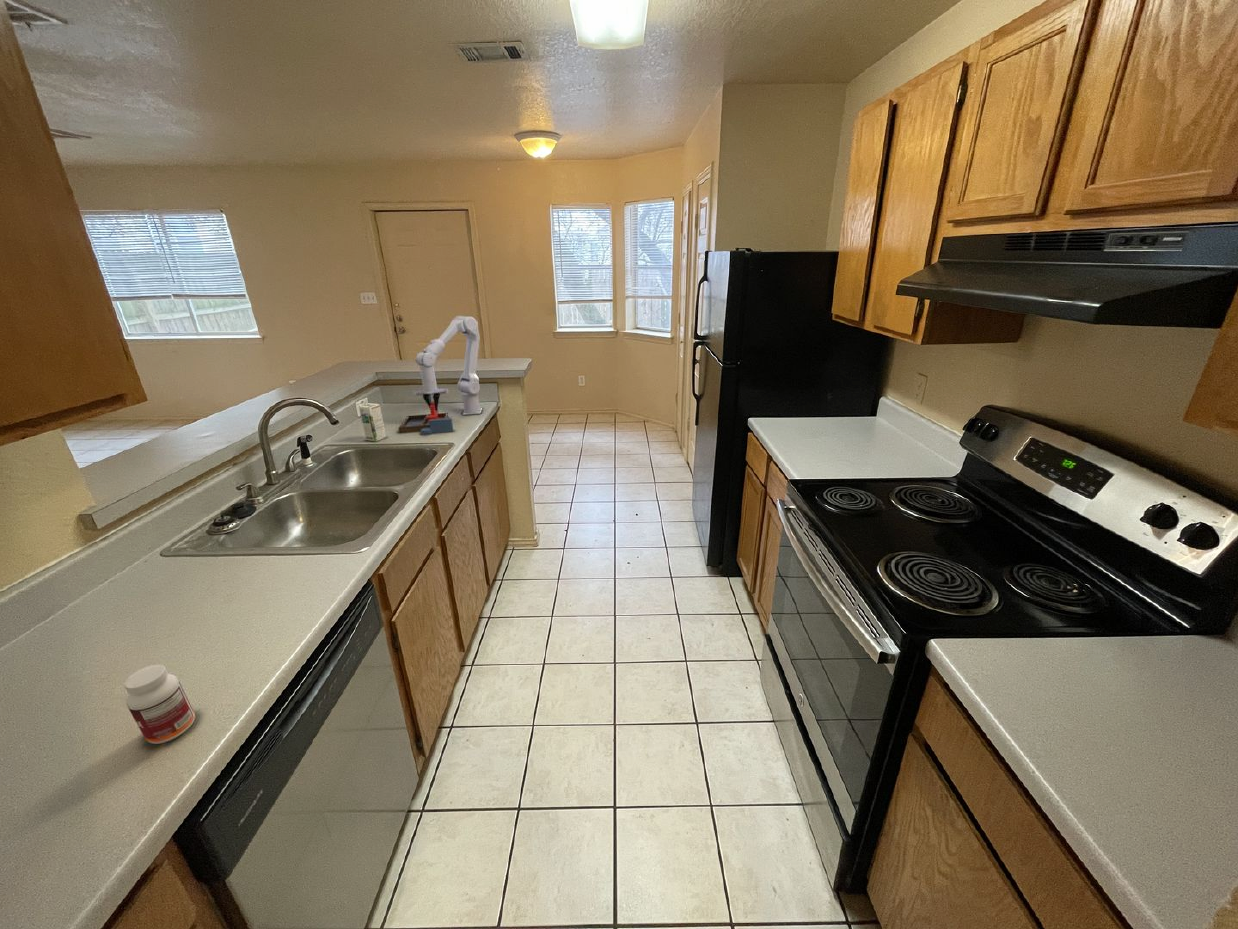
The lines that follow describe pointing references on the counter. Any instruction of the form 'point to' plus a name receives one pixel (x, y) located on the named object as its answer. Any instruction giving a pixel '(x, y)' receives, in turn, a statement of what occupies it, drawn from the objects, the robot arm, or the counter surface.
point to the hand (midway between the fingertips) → (434, 410)
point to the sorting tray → (418, 422)
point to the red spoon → (433, 412)
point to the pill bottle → (158, 704)
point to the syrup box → (372, 421)
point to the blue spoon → (438, 426)
